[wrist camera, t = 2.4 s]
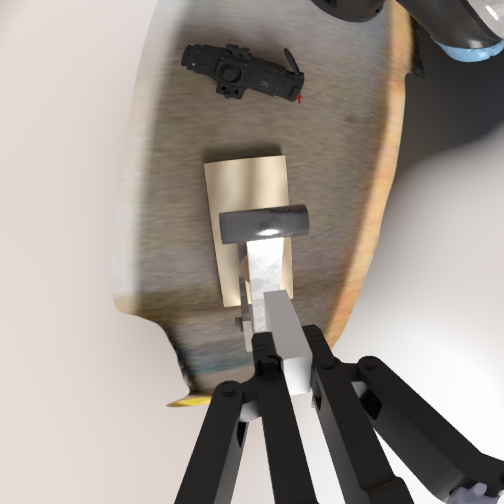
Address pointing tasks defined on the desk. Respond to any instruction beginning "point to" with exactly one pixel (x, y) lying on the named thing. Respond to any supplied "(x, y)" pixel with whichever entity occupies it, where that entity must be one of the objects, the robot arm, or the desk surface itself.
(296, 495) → the robot arm
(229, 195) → the press base
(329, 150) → the desk surface
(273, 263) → the lever
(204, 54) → the night vision scope
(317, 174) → the desk surface
